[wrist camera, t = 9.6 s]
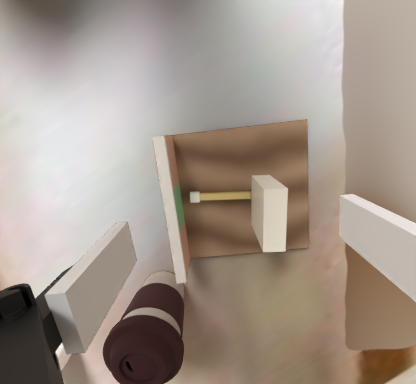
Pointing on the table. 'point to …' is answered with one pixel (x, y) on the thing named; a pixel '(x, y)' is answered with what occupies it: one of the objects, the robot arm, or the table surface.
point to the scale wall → (172, 205)
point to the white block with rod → (261, 210)
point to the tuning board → (241, 184)
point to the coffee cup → (149, 334)
